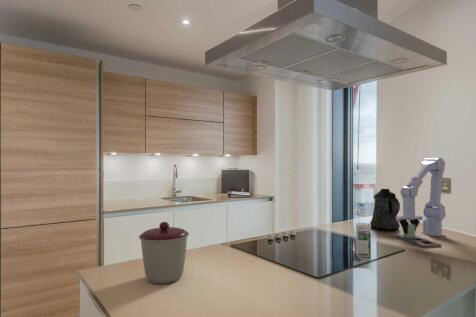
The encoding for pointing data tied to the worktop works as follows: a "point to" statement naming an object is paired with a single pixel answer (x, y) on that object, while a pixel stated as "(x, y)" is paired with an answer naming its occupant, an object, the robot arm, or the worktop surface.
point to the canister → (164, 253)
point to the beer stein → (385, 212)
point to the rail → (420, 241)
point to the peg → (410, 231)
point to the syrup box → (363, 239)
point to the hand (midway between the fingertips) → (409, 233)
